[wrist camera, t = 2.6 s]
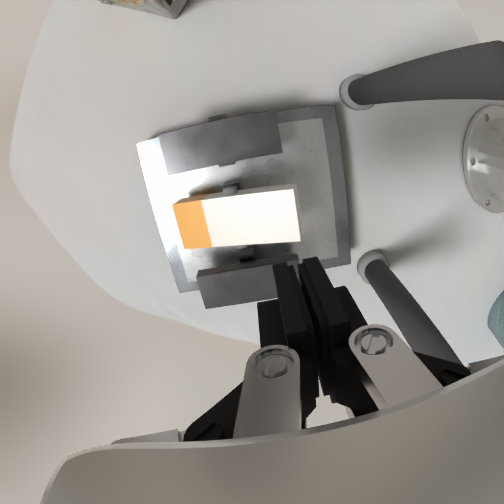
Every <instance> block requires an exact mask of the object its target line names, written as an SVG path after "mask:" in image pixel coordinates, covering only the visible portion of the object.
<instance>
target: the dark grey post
mask: <svg viewBox="0 0 504 504" xmlns="http://www.w3.org/2000/svg"><path fill="white" fill-rule="evenodd" d="M339 94H340V97H341V100H342V101H343V103H344V104H345V105H346V106H347V107H349V108H351V109H353V110H366V109H369V108H371V107H373V106H374V104H379V103H390V102H401V101H415V100H436V99H488V100H504V42H502V41H492V42H486V43H480V44H475V45H470V46H466V47H461V48H457V49H452V50H448V51H444V52H440V53H436V54H433V55H429V56H425V57H422V58H418V59H415V60H411V61H408V62H405V63H402V64H398V65H395V66H392V67H389V68H386V69H383V70H380V71H377V72H374V73H372V74H369V75H366V76H364V75H353V76H350V77H348V78H346V79H345V80H343V82H342V83H341V85H340V88H339Z"/></svg>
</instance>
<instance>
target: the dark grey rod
mask: <svg viewBox="0 0 504 504" xmlns="http://www.w3.org/2000/svg"><path fill="white" fill-rule="evenodd" d="M357 271H358V273H359V275H360V276H361V278H362V279H363V281H364V282H366V283H368V284H371V286H372V287H373V289H374V290H375V292H376V293H377V295H378V296H379V298H380V299H381V301H382V302H383V304H384V305H385V307H386V309H387V310H388V312H389V313H390V315H391V316H392V318H393V320H394V321H395V323H396V324H397V326H398V328H399V329H400V331H401V332H402V334H403V336H404V337H405V339H406V341H407V342H408V344H409V346H410V347H411V349H412V351H415V352H419V353H422V354H426V355H429V356H433V357H437V358H440V359H444V360H448V361H451V362H455V363H458V364H461V365H463V364H462V363H461V361H460V360H459V358H458V357H457V355H456V354H455V353H454V351H453V350H452V348H451V347H450V345H449V344H448V343H447V341H446V340H445V339H444V337H443V336H442V334H441V333H440V332H439V330H438V329H437V328H436V326H435V325H434V324H433V322H432V321H431V320H430V318H429V317H428V316H427V314H426V313H425V312H424V311H423V309H422V308H421V307H420V305H419V304H418V303H417V302H416V300H415V299H414V298H413V297H412V295H411V294H410V293H409V292H408V290H407V289H406V288H405V287H404V285H403V284H402V283H401V282H400V281H399V279H398V278H397V277H396V276H395V275H394V273H393V272H392V271H391V270H390V269H389V262H388V260H387V259H386V258H385V257H384V256H383V255H382V254H381V253H380V252H378V251H369V252H367V253H365V254H364V255H363V256H362V257H361V258H360V259H359V261H358V264H357Z"/></svg>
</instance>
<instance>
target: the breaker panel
mask: <svg viewBox="0 0 504 504" xmlns="http://www.w3.org/2000/svg"><path fill="white" fill-rule="evenodd" d="M136 145H137V149H138V153H139V157H140V161H141V165H142V169H143V173H144V177H145V181H146V185H147V189H148V192H149V196H150V200H151V203H152V207H153V210H154V214H155V217H156V221H157V224H158V228H159V231H160V234H161V237H162V241H163V244H164V247H165V250H166V253H167V257H168V260H169V263H170V266H171V269H172V272H173V275H174V278H175V281H176V284H177V287H178V290H179V292H180V293H183V292H189V291H196V290H200V292H201V295H202V298H203V302H204V305H205V308H206V309H208V308H215V307H222V306H229V305H236V304H242V303H248V302H255V301H261V300H267V299H273V298H278V297H277V291H276V285H275V279H274V274H273V268H272V265H273V264H279V263H284V262H287V265H288V266H289V265H293V266H294V269H295V272H296V275H297V278H298V281H299V275H298V267H297V264H300V263H302V259H306V258H311V257H316V256H317V257H318V259H319V261H320V263H321V265H322V266H323V268H324V269H326V268H331V267H337V266H342V265H347V264H351V257H350V238H349V223H348V210H347V198H346V188H345V178H344V169H343V161H342V153H341V146H340V138H339V132H338V125H337V119H336V113H335V107H334V105H323V106H314V107H305V108H297V109H289V110H282V111H275V110H270V111H264V112H258V113H252V114H247V115H241V116H236V117H231V118H227V115H225V114H224V115H219V116H215V117H210V118H209V122H208V123H203V124H199V125H195V126H191V127H187V128H183V129H179V130H175V131H172V132H168V133H164V134H161V135H158V137H156V138H153V139H150V140H146V141H143V142H140V143H136ZM286 184H297V190H298V197H299V204H300V211H301V218H302V226H303V235H302V239H301V241H298V242H282V243H266V244H251V245H248V246H247V247H245V248H241V249H238V248H236V247H235V246H220V247H210V248H195V249H183V246H182V242H181V239H180V235H179V232H178V228H177V225H176V221H175V217H174V214H173V210H172V206H171V205H172V204H173V203H175V202H176V201H178V200H179V199H181V198H185V197H191V196H198V195H204V194H214V193H221V192H223V189H224V188H227V187H231V186H237V190H243V189H251V188H259V187H268V186H277V185H286ZM299 284H300V283H299Z"/></svg>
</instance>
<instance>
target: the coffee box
mask: <svg viewBox="0 0 504 504" xmlns="http://www.w3.org/2000/svg"><path fill="white" fill-rule="evenodd" d="M99 1H100V2H102V3H105V4H110V5H116V6H122V7H126V8H131V9H136V10H140V11H145V12H149V13H153V14H157V15H161V16H165V17H168V18H172V19H175V18H177V16H178V15H179V13H180V11H181V10H182V8H183V7H184V5H185V4H186V2H187V0H99Z"/></svg>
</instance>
